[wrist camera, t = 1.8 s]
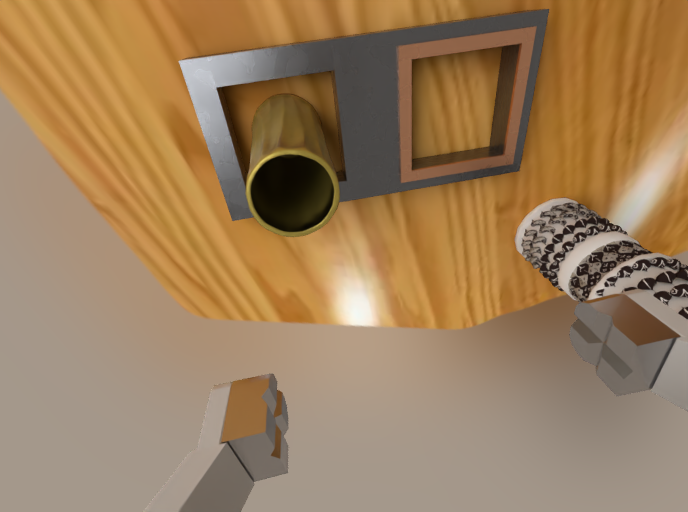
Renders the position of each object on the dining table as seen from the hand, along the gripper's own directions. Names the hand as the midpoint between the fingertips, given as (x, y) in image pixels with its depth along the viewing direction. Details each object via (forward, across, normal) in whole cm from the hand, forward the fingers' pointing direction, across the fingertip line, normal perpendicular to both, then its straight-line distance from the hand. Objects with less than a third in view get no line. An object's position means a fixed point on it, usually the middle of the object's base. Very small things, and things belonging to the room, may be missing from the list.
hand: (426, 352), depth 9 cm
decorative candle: (+28, -24, +17) cm, 40 cm away
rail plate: (+26, -4, 0) cm, 27 cm away
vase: (+26, +4, -1) cm, 27 cm away
